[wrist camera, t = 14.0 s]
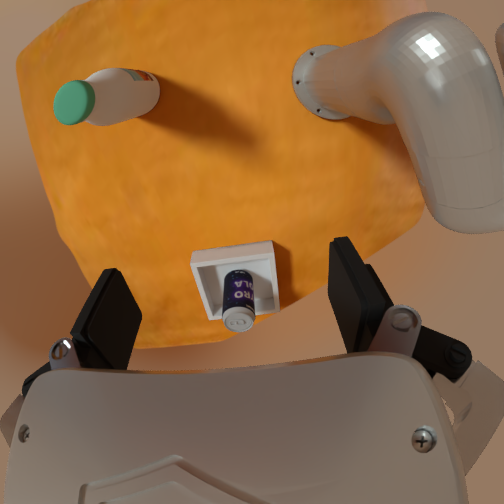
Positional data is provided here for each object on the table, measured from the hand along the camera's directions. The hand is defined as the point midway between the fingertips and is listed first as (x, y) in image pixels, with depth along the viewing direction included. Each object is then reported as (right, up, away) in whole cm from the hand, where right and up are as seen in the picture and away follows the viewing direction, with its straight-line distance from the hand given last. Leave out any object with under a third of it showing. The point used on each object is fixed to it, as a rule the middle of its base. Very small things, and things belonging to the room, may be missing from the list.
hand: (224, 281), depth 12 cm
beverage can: (-2, -4, +43) cm, 43 cm away
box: (-2, -4, +44) cm, 44 cm away
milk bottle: (-17, +26, +23) cm, 39 cm away
